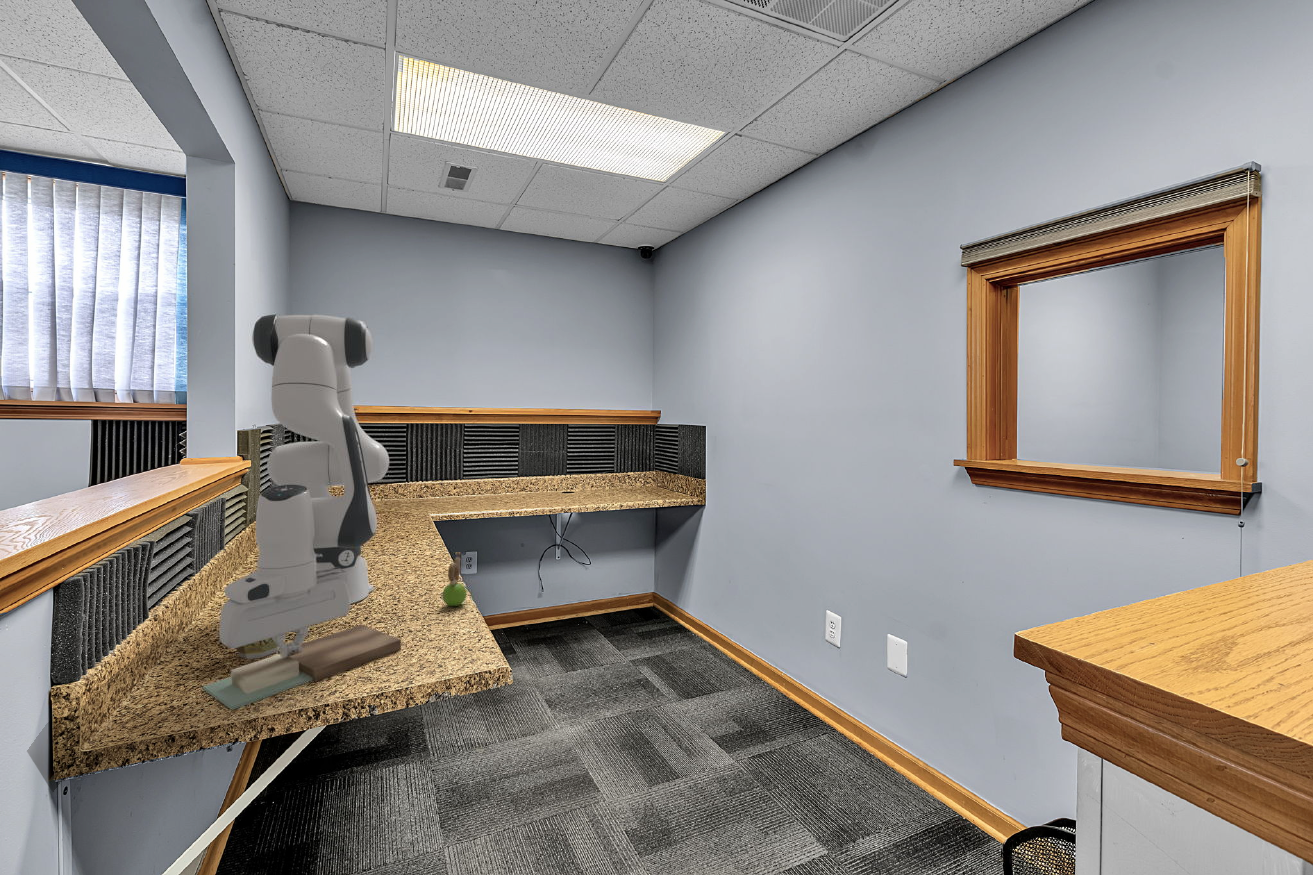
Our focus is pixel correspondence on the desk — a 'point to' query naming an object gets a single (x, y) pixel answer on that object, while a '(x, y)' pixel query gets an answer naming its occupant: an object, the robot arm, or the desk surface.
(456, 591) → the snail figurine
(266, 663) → the ash tile
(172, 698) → the desk surface
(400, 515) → the desk surface
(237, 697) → the rubber mat
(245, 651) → the ceramic cup
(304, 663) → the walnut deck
